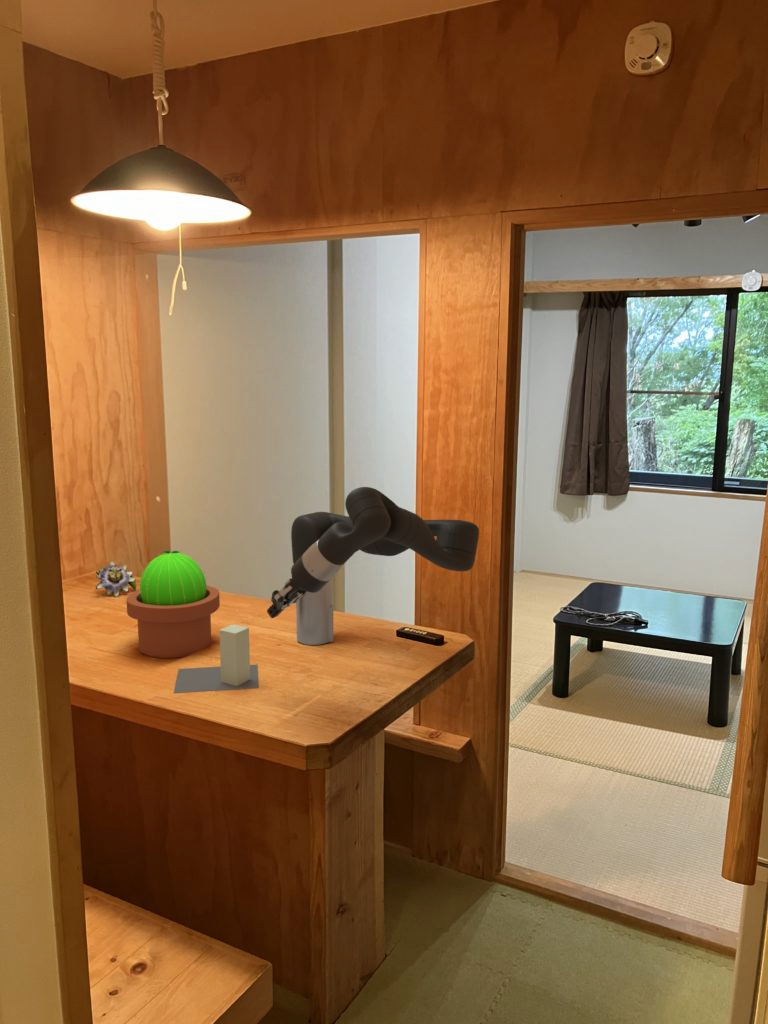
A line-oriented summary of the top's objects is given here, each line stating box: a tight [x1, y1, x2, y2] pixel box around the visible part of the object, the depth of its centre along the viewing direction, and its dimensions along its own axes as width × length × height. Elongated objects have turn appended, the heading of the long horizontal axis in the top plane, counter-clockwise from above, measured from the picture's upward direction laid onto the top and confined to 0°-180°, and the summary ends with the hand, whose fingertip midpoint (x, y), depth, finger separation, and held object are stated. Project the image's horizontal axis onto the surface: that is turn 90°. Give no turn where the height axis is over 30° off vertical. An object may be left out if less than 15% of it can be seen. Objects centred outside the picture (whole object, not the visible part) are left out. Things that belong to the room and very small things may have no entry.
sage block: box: [219, 623, 251, 686], centre depth 176 cm, size 4×4×12 cm
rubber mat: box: [173, 663, 260, 694], centre depth 178 cm, size 18×14×1 cm
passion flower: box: [95, 561, 137, 598], centre depth 247 cm, size 11×11×12 cm
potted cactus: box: [126, 550, 221, 659], centre depth 198 cm, size 22×22×25 cm
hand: (271, 614), depth 168 cm, fingers closed
